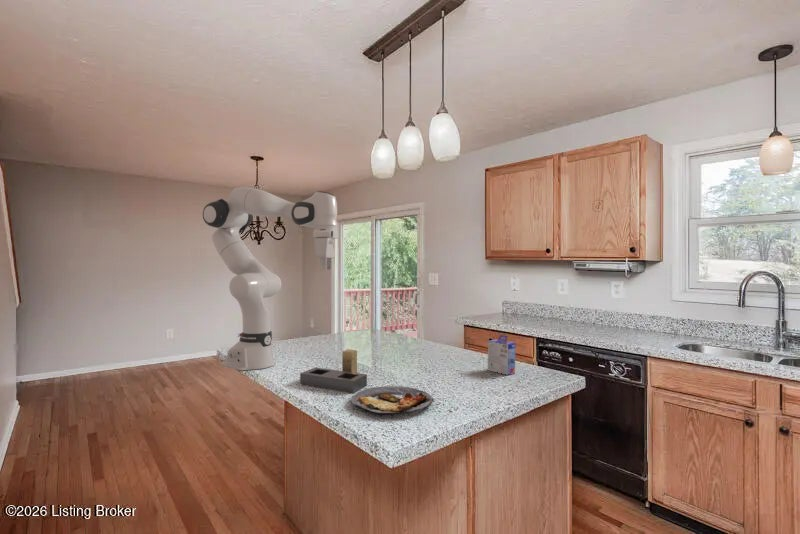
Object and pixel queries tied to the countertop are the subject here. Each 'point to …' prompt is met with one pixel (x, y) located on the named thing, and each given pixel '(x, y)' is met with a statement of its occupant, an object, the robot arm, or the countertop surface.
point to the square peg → (349, 361)
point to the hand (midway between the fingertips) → (326, 270)
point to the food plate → (392, 399)
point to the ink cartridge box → (501, 356)
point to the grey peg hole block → (334, 379)
